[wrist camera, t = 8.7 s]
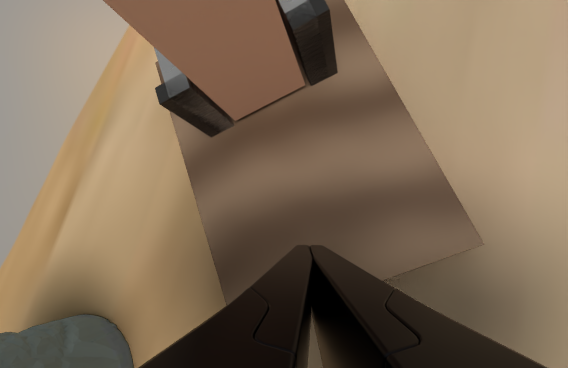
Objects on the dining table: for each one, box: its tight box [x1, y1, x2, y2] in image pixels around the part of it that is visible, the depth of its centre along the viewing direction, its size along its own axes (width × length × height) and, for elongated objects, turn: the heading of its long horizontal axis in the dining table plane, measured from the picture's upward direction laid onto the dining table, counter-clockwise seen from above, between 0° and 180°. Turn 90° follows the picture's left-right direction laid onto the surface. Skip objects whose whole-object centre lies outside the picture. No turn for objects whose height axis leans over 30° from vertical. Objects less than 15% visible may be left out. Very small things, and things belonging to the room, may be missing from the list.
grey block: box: [154, 0, 338, 138], centre depth 16 cm, size 8×9×5 cm
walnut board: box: [156, 0, 484, 305], centre depth 17 cm, size 20×14×1 cm
